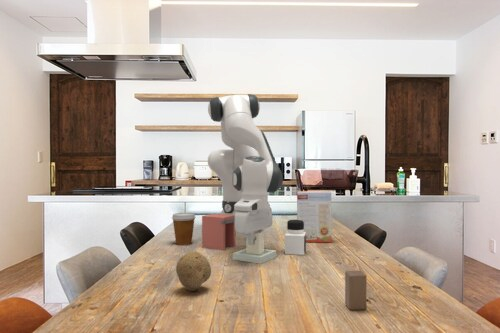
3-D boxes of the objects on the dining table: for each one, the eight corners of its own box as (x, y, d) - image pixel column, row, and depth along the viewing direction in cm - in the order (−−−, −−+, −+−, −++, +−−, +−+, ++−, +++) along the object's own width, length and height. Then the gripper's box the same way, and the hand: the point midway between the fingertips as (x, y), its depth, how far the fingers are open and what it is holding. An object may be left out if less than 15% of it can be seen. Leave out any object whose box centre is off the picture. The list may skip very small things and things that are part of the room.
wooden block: (361, 304, 96) (361, 270, 96) (366, 310, 92) (367, 275, 92) (344, 304, 96) (344, 270, 96) (349, 310, 92) (349, 275, 92)
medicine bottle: (304, 255, 146) (304, 221, 146) (284, 254, 147) (284, 221, 147) (305, 250, 153) (306, 218, 153) (286, 250, 154) (286, 218, 154)
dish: (249, 253, 149) (249, 247, 149) (276, 256, 143) (276, 250, 143) (233, 259, 140) (233, 253, 140) (261, 263, 134) (261, 257, 134)
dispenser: (215, 243, 167) (215, 213, 166) (235, 246, 161) (235, 215, 161) (201, 247, 159) (201, 216, 159) (223, 250, 154) (223, 217, 154)
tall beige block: (251, 250, 144) (251, 230, 144) (263, 252, 142) (263, 232, 142) (246, 252, 141) (246, 232, 141) (258, 254, 139) (258, 233, 139)
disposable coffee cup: (183, 246, 160) (183, 216, 160) (167, 243, 166) (166, 214, 166) (200, 243, 168) (200, 213, 167) (184, 240, 173) (184, 212, 173)
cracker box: (330, 240, 173) (330, 190, 173) (331, 243, 167) (331, 191, 167) (296, 239, 175) (297, 190, 174) (297, 242, 169) (297, 191, 168)
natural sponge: (195, 282, 113) (195, 246, 113) (218, 289, 108) (218, 251, 108) (169, 290, 106) (169, 252, 106) (192, 298, 101) (192, 257, 101)
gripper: (261, 200, 152) (261, 237, 152) (231, 205, 134) (231, 247, 134) (276, 201, 149) (276, 239, 149) (247, 206, 131) (247, 249, 131)
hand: (254, 243), depth 141 cm, fingers closed on tall beige block, 3 cm apart
